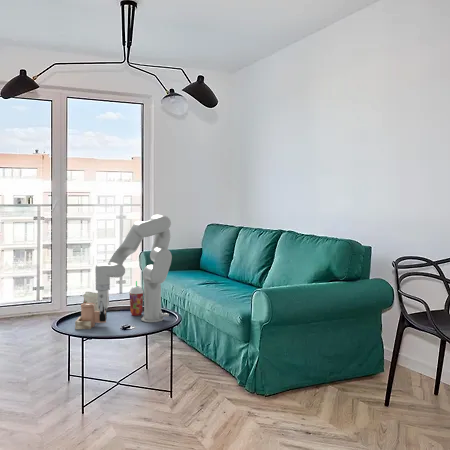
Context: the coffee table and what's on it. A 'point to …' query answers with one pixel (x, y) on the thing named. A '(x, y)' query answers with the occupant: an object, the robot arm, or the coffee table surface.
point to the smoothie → (136, 300)
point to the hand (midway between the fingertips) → (103, 320)
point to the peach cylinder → (90, 314)
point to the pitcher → (91, 299)
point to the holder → (82, 324)
